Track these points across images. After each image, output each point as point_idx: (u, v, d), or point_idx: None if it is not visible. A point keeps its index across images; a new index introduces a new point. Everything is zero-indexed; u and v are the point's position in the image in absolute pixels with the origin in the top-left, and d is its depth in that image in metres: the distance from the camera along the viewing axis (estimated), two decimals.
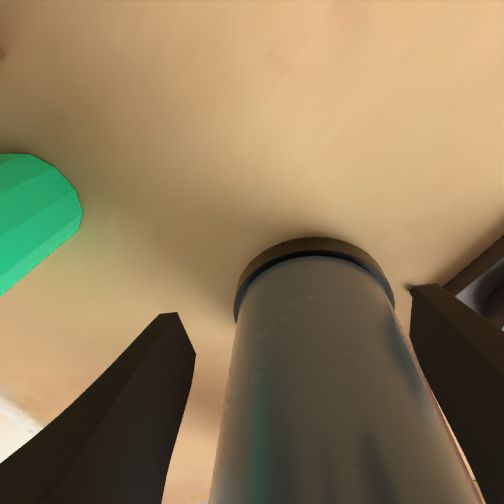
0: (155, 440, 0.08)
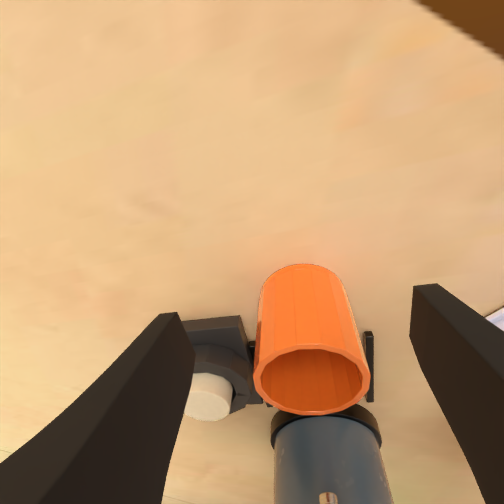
0: (155, 440, 0.08)
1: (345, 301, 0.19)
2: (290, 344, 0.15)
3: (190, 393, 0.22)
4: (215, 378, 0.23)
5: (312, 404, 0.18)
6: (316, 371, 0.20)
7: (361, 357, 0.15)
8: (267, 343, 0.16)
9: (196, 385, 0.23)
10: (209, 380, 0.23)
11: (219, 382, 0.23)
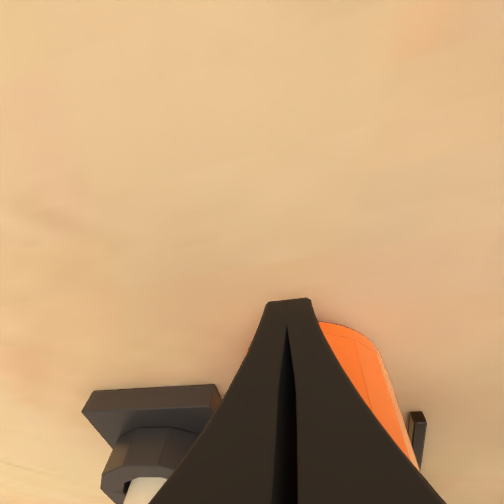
0: (293, 436, 0.07)
1: (389, 400, 0.10)
2: None
3: None
4: None
5: None
6: None
7: None
8: None
9: (142, 501, 0.14)
10: None
11: None
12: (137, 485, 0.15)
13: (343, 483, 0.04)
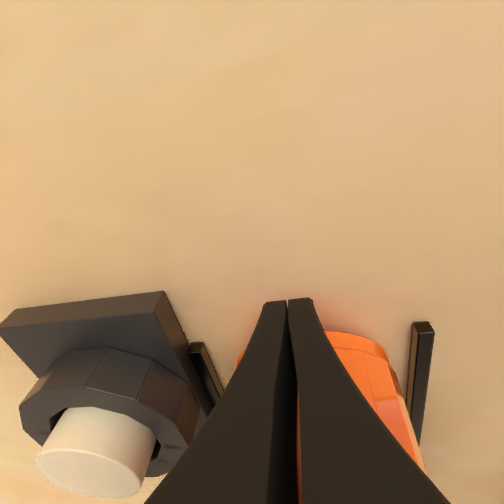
0: (290, 436, 0.07)
1: (403, 424, 0.09)
2: None
3: (50, 453, 0.11)
4: (111, 418, 0.11)
5: None
6: None
7: None
8: None
9: (66, 435, 0.11)
10: (96, 423, 0.11)
11: (118, 426, 0.11)
12: (64, 419, 0.12)
13: (347, 483, 0.04)
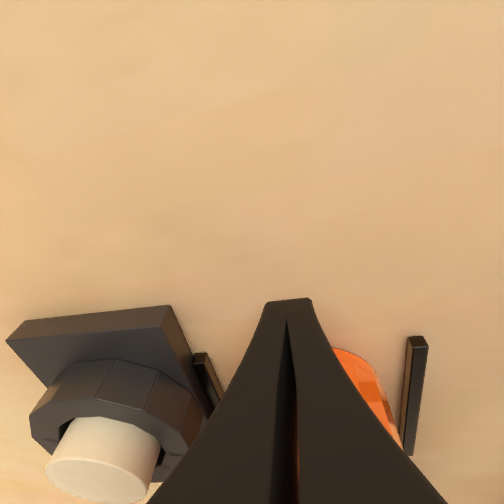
0: (292, 436, 0.07)
1: (386, 421, 0.11)
2: None
3: (60, 461, 0.11)
4: (119, 427, 0.12)
5: None
6: None
7: None
8: None
9: (75, 444, 0.11)
10: (104, 432, 0.12)
11: (125, 435, 0.12)
12: (72, 428, 0.12)
13: (344, 483, 0.04)
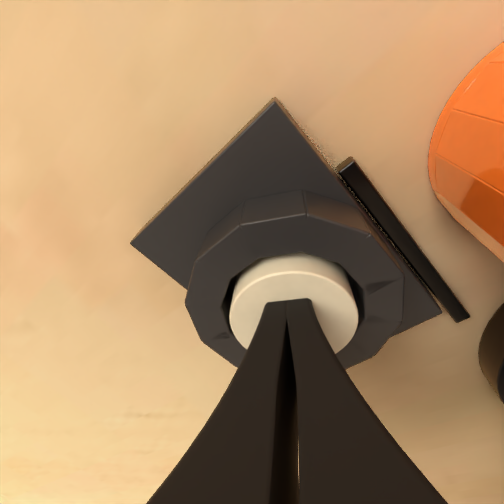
0: (292, 436, 0.07)
1: None
2: None
3: (240, 297, 0.09)
4: None
5: None
6: None
7: None
8: None
9: (248, 276, 0.09)
10: None
11: None
12: (238, 277, 0.10)
13: (344, 483, 0.04)
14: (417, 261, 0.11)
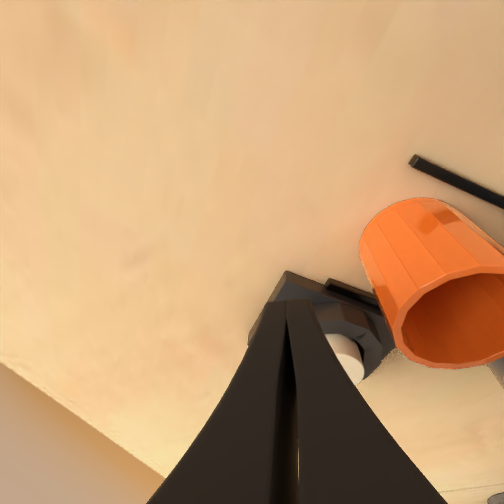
0: (292, 436, 0.07)
1: (431, 216, 0.15)
2: (396, 313, 0.13)
3: None
4: None
5: None
6: (489, 295, 0.16)
7: (478, 262, 0.12)
8: (388, 324, 0.15)
9: None
10: None
11: None
12: None
13: (344, 483, 0.04)
14: None
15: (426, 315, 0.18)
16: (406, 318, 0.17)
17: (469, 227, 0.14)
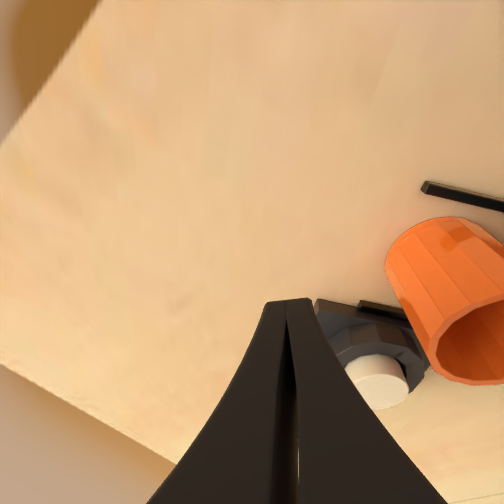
0: (292, 436, 0.07)
1: (450, 240, 0.16)
2: (428, 341, 0.14)
3: None
4: (357, 362, 0.21)
5: None
6: None
7: (500, 289, 0.13)
8: (423, 348, 0.16)
9: None
10: (353, 368, 0.21)
11: (362, 363, 0.21)
12: None
13: (344, 483, 0.04)
14: None
15: (462, 330, 0.18)
16: (441, 336, 0.18)
17: (489, 248, 0.15)
